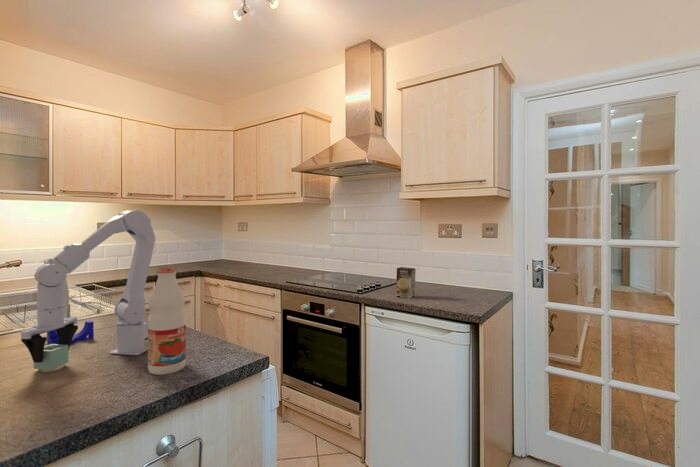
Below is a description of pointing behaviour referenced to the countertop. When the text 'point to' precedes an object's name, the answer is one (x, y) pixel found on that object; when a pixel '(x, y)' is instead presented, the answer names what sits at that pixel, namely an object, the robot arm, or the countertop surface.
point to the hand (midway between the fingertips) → (51, 356)
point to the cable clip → (81, 336)
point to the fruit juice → (166, 325)
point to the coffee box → (405, 282)
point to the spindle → (54, 368)
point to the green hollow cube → (53, 357)
